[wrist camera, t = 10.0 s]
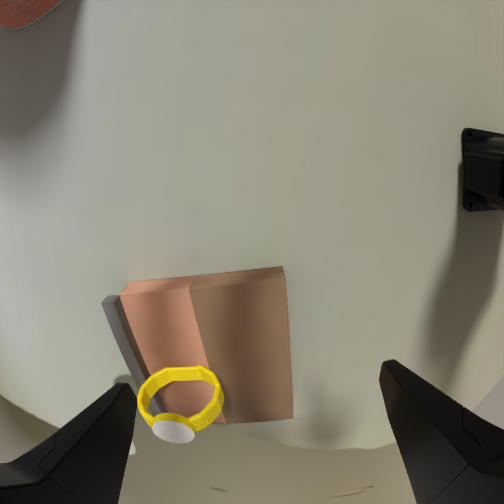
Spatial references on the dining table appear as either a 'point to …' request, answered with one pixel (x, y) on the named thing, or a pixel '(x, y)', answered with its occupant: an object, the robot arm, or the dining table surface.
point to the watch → (174, 424)
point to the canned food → (24, 12)
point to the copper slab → (210, 341)
